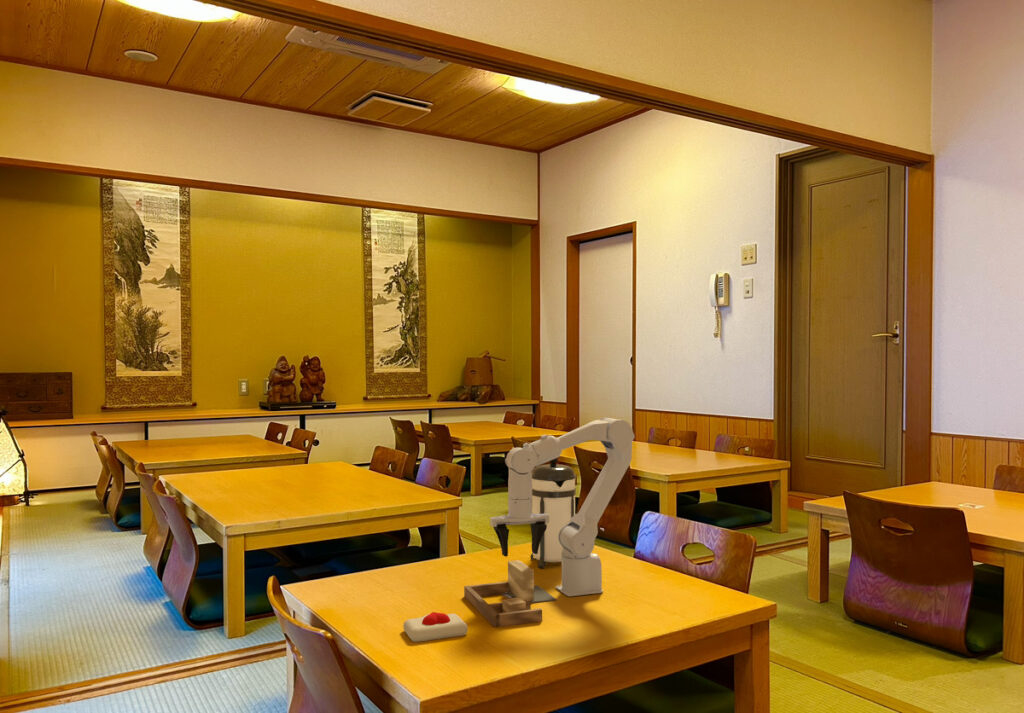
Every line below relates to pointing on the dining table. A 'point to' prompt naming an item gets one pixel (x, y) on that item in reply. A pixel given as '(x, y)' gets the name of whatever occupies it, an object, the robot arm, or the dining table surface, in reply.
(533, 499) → the coffee press
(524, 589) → the tan wooden block
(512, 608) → the offcut upper
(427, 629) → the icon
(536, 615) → the rack
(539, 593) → the mat
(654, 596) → the dining table surface
